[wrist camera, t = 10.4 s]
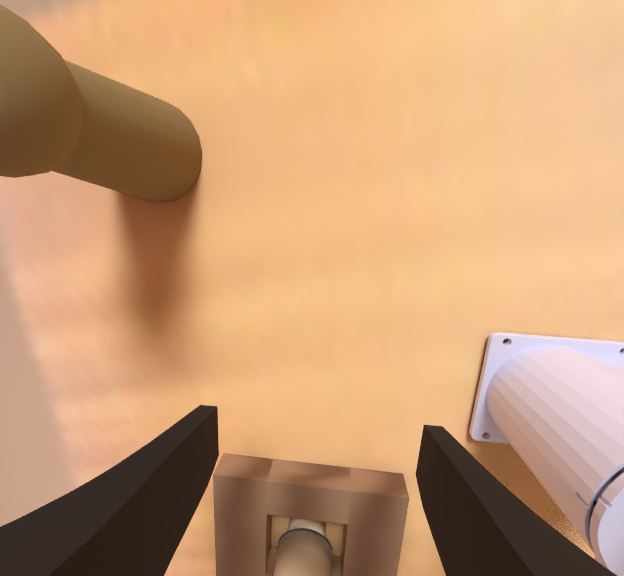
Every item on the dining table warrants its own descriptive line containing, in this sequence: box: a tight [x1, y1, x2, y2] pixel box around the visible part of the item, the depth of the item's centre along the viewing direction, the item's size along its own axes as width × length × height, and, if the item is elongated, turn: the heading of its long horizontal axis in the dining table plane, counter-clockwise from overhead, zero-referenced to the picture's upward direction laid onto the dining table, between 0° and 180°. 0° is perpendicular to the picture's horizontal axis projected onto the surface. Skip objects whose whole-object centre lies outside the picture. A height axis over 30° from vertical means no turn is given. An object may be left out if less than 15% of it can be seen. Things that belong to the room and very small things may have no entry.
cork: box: [0, 5, 202, 203], centre depth 13 cm, size 6×6×11 cm
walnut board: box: [213, 454, 409, 576], centre depth 23 cm, size 14×12×2 cm
